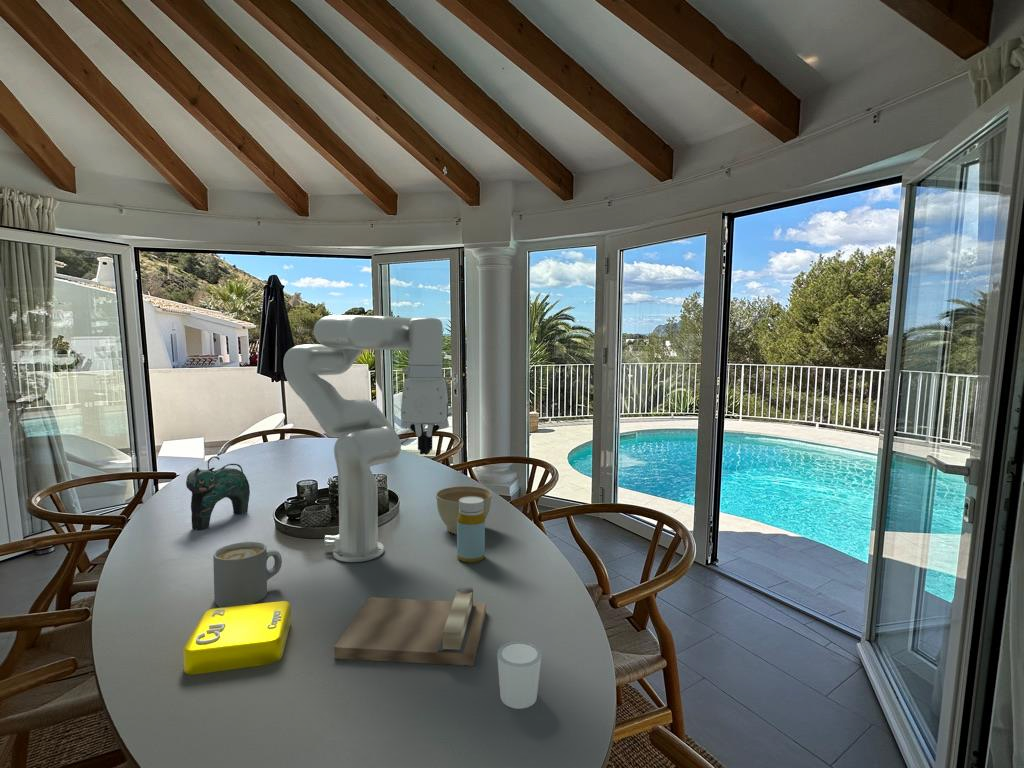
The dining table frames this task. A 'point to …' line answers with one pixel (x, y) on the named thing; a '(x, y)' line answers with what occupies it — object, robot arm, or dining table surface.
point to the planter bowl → (450, 503)
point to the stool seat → (408, 633)
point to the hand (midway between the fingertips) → (425, 453)
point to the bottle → (471, 529)
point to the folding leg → (458, 619)
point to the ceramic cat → (216, 492)
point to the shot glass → (519, 673)
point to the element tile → (238, 637)
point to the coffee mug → (242, 573)
